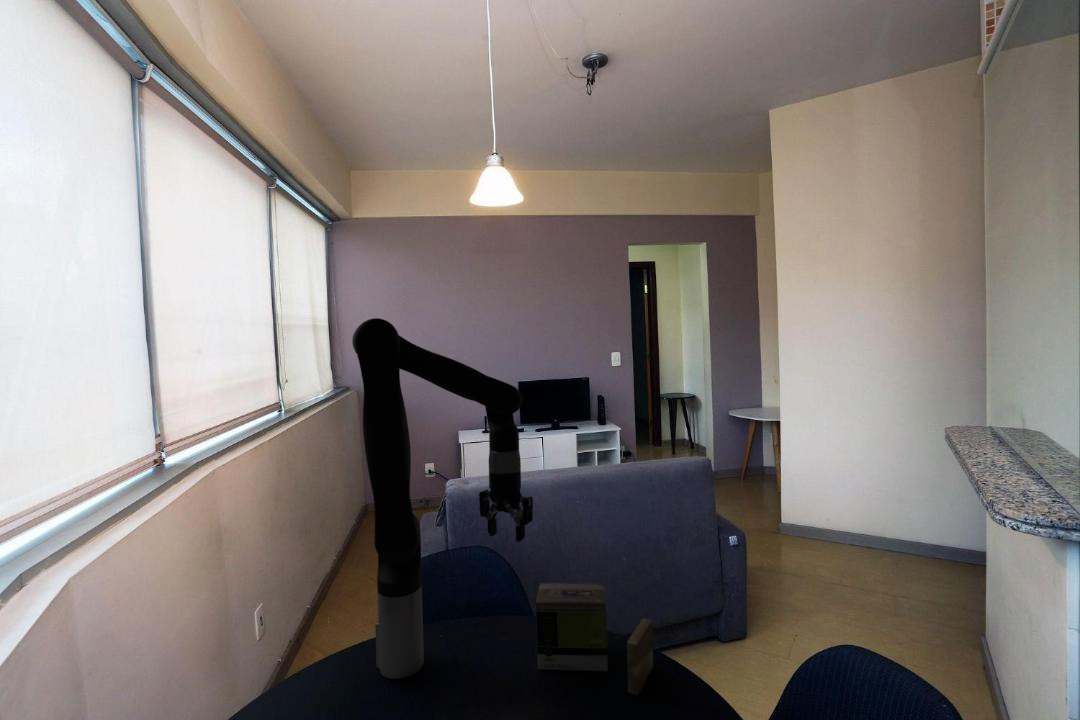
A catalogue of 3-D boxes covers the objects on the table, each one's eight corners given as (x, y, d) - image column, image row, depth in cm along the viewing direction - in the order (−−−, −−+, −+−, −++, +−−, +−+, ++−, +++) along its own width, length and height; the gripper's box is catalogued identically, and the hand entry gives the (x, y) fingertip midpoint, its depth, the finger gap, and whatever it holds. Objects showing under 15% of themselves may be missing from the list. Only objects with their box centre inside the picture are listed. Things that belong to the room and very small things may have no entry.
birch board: (627, 692, 99) (626, 642, 98) (644, 664, 107) (643, 618, 107) (637, 695, 98) (636, 644, 97) (653, 666, 106) (652, 620, 106)
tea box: (606, 645, 114) (605, 581, 114) (608, 673, 104) (606, 603, 104) (541, 643, 116) (539, 580, 116) (536, 671, 106) (535, 602, 106)
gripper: (470, 468, 118) (472, 538, 118) (521, 475, 111) (523, 549, 111) (489, 462, 125) (490, 528, 125) (539, 468, 117) (540, 537, 118)
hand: (506, 537), depth 118 cm, fingers open, 7 cm apart
